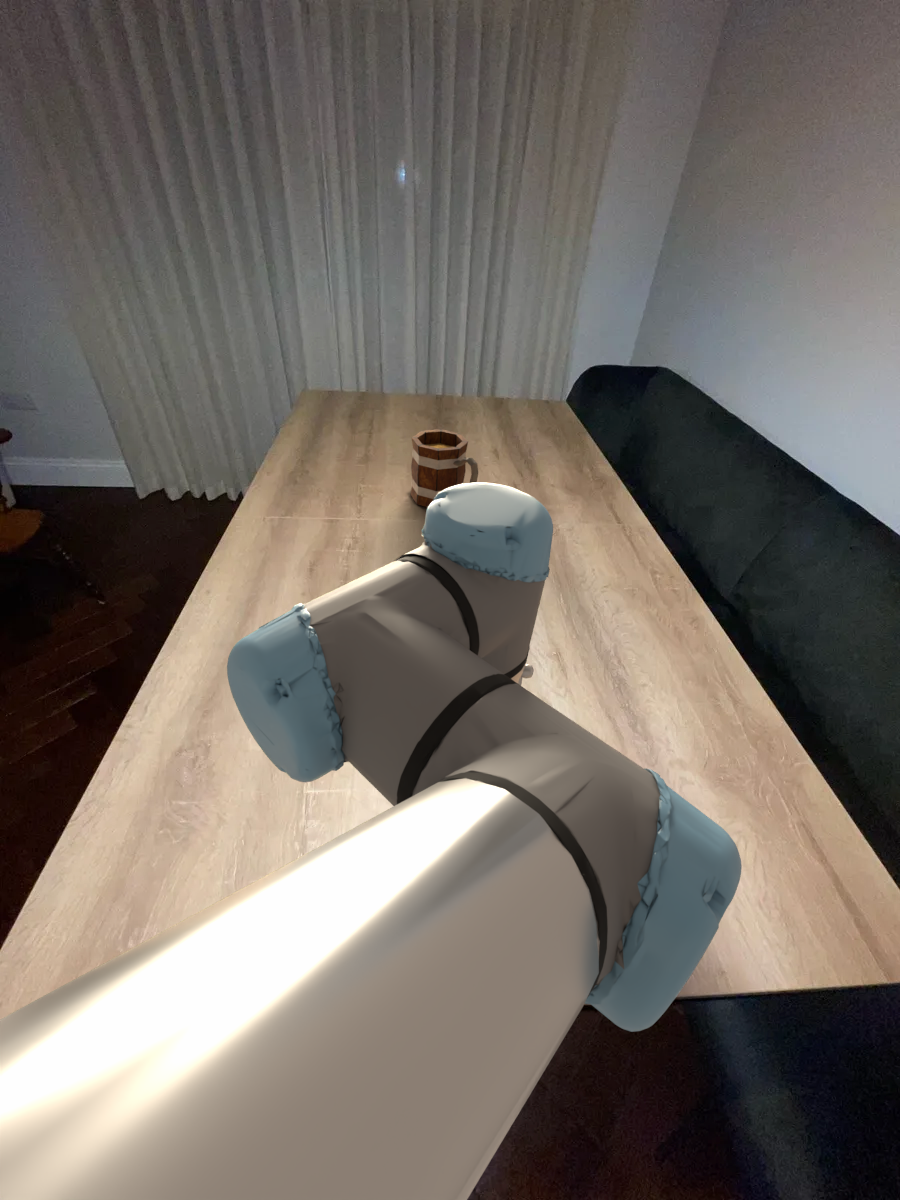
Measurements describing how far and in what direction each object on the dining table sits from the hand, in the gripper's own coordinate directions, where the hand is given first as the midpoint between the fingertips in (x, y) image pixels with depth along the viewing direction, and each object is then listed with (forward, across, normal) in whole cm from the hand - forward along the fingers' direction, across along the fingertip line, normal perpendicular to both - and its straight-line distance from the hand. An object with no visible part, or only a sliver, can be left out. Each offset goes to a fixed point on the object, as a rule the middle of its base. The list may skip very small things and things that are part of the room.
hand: (448, 843), depth 53 cm
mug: (+10, +92, +17) cm, 94 cm away
